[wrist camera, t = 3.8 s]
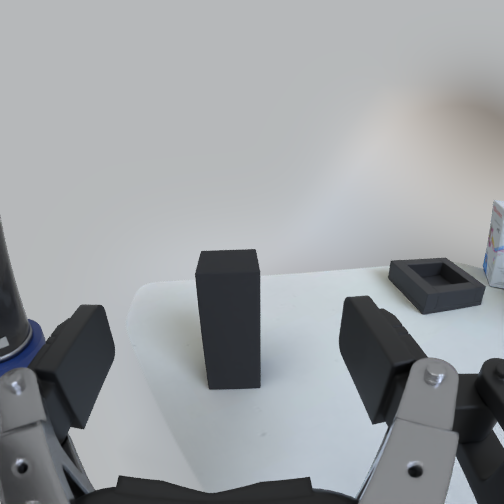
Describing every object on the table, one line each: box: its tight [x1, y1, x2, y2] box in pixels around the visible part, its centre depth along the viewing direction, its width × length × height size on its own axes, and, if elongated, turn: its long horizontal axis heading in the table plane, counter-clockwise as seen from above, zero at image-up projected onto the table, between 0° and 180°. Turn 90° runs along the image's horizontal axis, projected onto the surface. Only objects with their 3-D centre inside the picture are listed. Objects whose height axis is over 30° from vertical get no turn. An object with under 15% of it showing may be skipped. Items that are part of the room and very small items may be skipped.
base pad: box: [388, 258, 486, 314], centre depth 36 cm, size 10×10×3 cm
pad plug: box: [195, 249, 260, 389], centre depth 23 cm, size 4×4×10 cm
